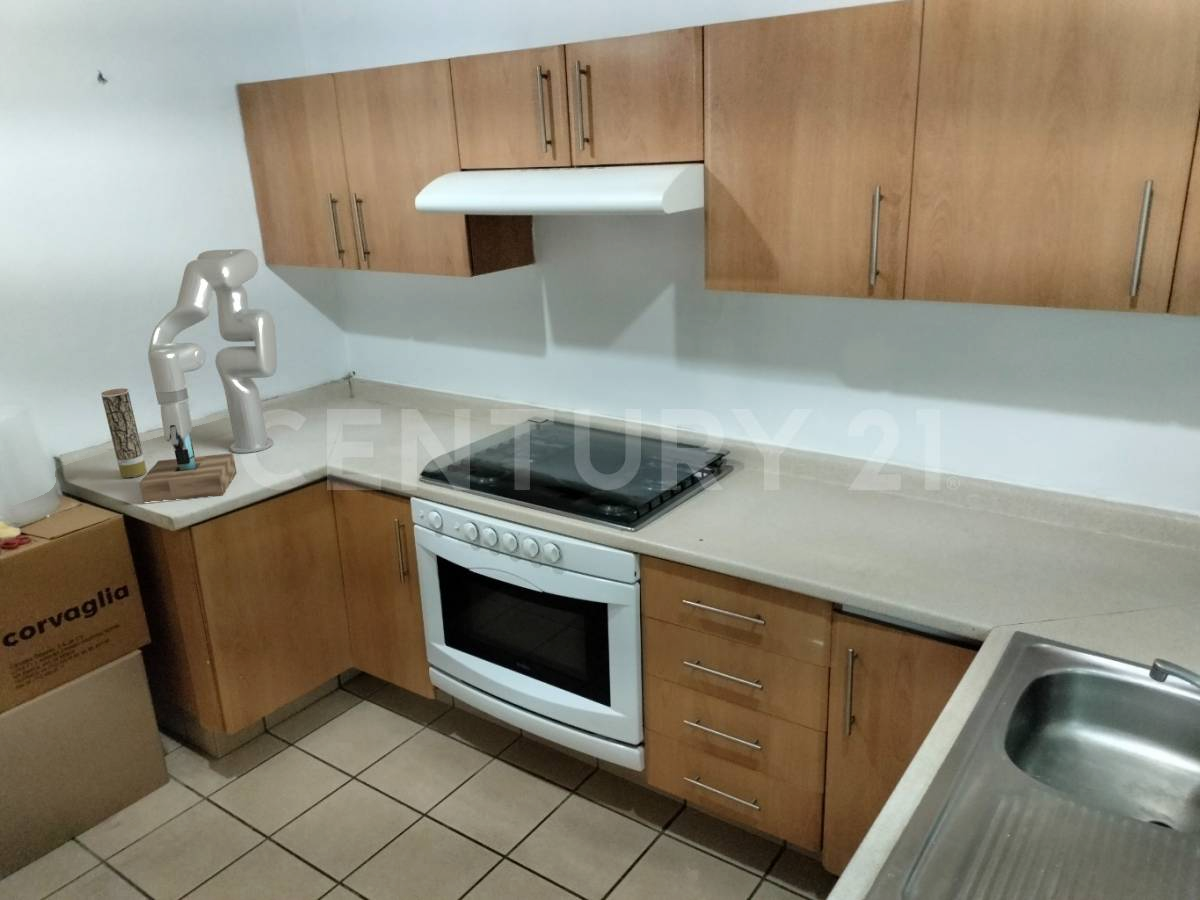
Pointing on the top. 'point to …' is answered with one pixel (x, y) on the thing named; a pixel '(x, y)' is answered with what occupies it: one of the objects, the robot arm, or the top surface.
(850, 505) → the top surface
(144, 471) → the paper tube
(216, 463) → the socket block
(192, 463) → the peg
